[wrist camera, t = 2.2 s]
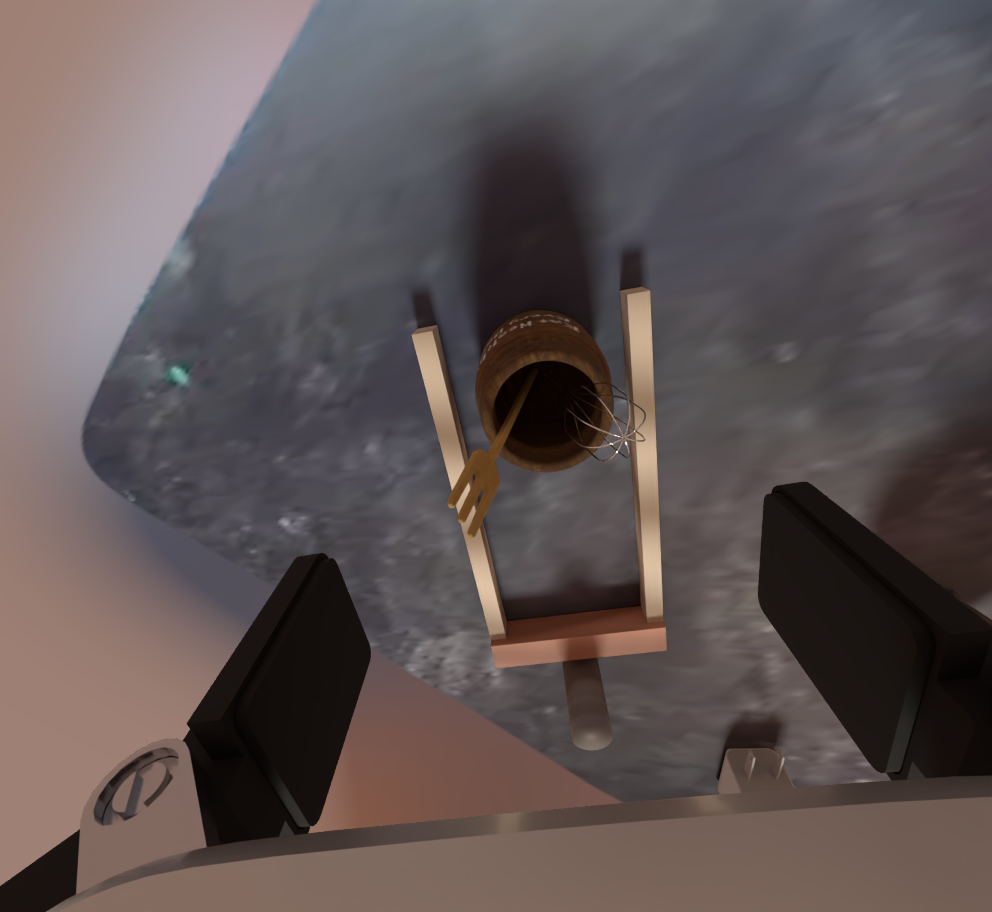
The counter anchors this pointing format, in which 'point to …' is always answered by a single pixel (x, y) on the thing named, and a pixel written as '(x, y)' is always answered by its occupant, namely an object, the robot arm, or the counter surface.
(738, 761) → the usb wall charger
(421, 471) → the counter surface
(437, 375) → the guide channel
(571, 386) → the utensil holder
